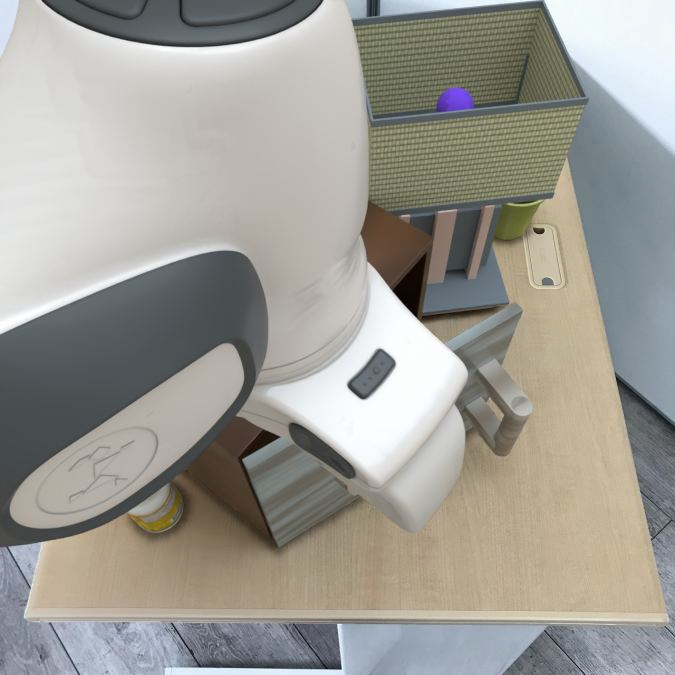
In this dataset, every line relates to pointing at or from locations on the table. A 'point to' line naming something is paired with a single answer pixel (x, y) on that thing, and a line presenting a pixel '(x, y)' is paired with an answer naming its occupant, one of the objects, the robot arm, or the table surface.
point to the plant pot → (515, 219)
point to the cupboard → (246, 438)
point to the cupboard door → (483, 382)
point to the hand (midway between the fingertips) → (293, 431)
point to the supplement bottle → (159, 510)
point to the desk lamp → (466, 130)
